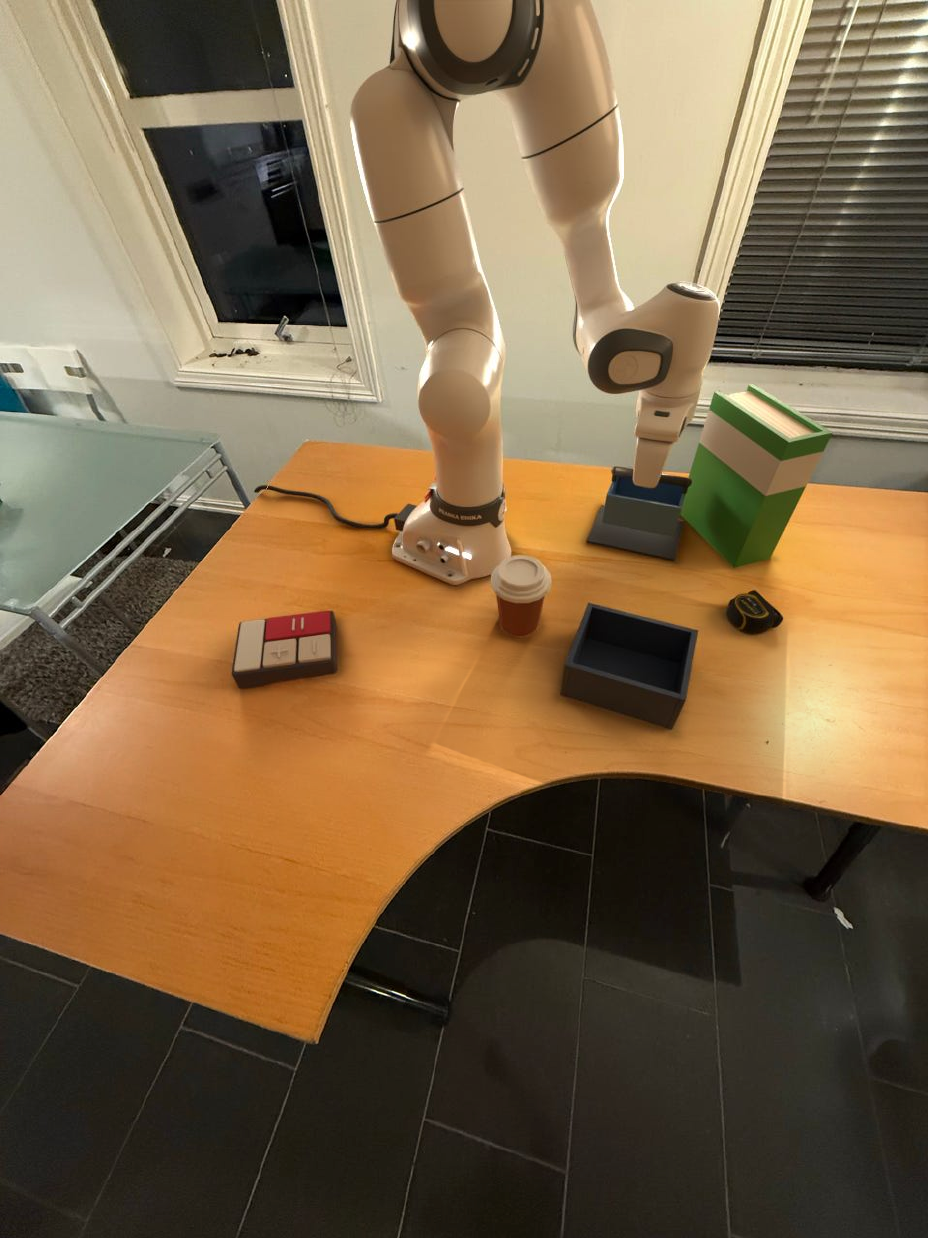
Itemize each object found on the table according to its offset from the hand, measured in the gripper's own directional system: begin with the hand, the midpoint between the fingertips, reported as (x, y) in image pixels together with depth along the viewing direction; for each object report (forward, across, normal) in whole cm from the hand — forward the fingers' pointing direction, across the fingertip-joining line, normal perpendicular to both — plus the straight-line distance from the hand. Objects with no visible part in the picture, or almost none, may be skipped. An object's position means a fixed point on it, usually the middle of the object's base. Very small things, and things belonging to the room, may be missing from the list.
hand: (648, 481), depth 92 cm
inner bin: (+7, 0, 0) cm, 7 cm away
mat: (+11, 0, 0) cm, 11 cm away
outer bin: (+11, +35, +5) cm, 37 cm away
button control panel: (+11, +49, -45) cm, 68 cm away
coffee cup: (+11, +30, -13) cm, 35 cm away
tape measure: (+12, +16, +21) cm, 29 cm away
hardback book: (+12, -5, +15) cm, 19 cm away
